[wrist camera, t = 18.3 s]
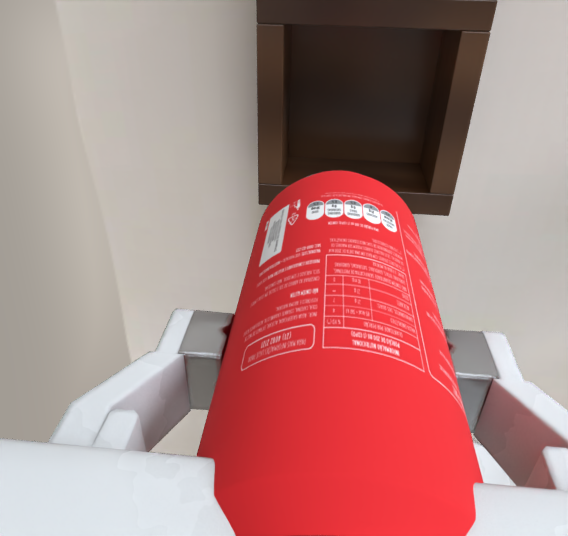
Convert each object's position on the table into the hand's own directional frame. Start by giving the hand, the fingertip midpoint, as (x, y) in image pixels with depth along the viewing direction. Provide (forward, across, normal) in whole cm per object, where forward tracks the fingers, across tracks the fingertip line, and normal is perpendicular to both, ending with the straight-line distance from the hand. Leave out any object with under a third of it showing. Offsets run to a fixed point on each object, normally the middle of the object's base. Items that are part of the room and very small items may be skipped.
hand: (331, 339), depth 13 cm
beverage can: (+6, 0, 0) cm, 6 cm away
